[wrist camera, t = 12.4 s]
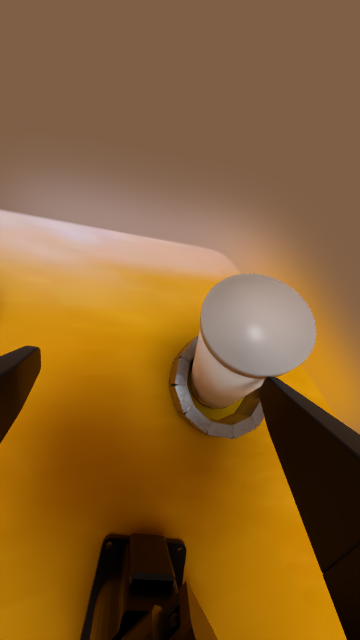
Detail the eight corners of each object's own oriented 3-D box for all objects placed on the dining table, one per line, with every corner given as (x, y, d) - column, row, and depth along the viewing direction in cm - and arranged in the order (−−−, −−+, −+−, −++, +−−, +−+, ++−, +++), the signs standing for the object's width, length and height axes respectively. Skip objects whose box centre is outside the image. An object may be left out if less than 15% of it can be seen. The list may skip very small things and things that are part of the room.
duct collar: (251, 437, 22) (269, 445, 19) (161, 422, 20) (166, 428, 18) (257, 347, 25) (274, 342, 22) (178, 329, 23) (186, 321, 20)
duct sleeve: (224, 422, 20) (286, 401, 9) (178, 386, 22) (178, 327, 10) (252, 376, 22) (333, 309, 11) (208, 346, 23) (237, 258, 12)
